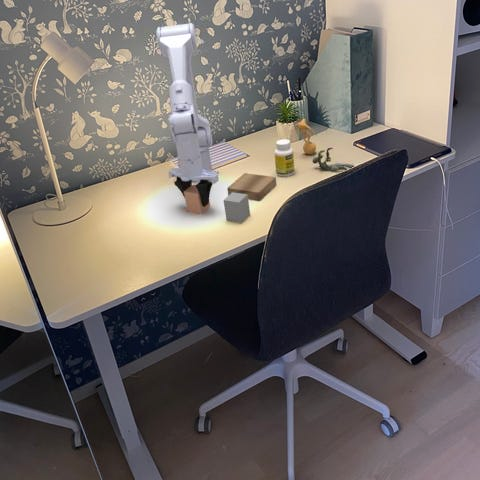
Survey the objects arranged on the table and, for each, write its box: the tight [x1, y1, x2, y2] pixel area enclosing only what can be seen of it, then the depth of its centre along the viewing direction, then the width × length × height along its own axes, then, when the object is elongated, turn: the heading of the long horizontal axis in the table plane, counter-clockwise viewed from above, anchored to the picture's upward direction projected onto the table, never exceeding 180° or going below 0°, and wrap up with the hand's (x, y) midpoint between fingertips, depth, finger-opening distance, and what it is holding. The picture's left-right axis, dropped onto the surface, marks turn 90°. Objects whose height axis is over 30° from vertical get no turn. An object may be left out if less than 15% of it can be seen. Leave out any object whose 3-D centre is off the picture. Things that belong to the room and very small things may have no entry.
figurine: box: [294, 118, 318, 155], centre depth 166 cm, size 8×6×12 cm
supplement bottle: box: [274, 139, 295, 177], centre depth 158 cm, size 5×5×10 cm
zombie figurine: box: [312, 147, 355, 172], centre depth 156 cm, size 5×7×15 cm
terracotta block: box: [183, 184, 211, 215], centre depth 145 cm, size 4×4×6 cm
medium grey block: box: [223, 192, 251, 224], centre depth 139 cm, size 4×4×6 cm
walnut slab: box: [226, 172, 277, 202], centre depth 152 cm, size 10×10×3 cm
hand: (197, 203), depth 146 cm, fingers closed on terracotta block, 4 cm apart
